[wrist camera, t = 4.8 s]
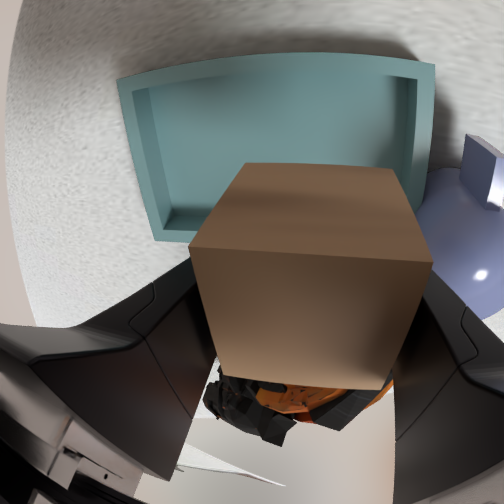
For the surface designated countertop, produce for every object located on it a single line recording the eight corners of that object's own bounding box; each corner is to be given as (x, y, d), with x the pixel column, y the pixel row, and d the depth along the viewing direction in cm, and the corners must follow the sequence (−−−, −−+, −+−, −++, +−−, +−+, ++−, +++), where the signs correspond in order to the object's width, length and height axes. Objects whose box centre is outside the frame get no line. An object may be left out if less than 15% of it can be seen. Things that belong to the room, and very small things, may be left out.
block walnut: (373, 283, 11) (380, 390, 7) (256, 275, 12) (223, 374, 8) (392, 169, 8) (433, 262, 5) (245, 162, 9) (187, 246, 6)
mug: (502, 137, 14) (561, 181, 8) (472, 256, 19) (501, 323, 14) (412, 119, 15) (453, 155, 10) (393, 251, 21) (408, 323, 16)
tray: (421, 62, 13) (435, 64, 11) (403, 234, 20) (410, 256, 18) (137, 74, 17) (116, 79, 15) (168, 223, 24) (154, 240, 22)
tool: (240, 288, 37) (180, 401, 29) (378, 197, 17) (285, 464, 10) (294, 321, 38) (243, 430, 31) (451, 268, 18) (399, 488, 11)
